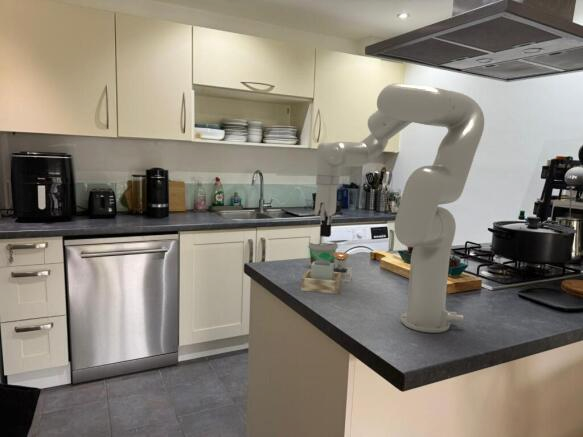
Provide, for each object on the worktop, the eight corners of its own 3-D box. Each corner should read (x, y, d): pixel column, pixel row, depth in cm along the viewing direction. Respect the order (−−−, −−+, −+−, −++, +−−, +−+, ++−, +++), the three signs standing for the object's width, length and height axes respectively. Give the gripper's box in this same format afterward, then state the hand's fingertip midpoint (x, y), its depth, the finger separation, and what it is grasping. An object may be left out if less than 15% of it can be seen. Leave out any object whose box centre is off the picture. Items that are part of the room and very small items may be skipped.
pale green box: (312, 281, 142) (313, 259, 141) (333, 283, 141) (334, 260, 140) (310, 285, 138) (311, 262, 136) (331, 287, 136) (332, 264, 135)
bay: (340, 283, 144) (341, 272, 143) (337, 293, 133) (338, 281, 133) (306, 280, 146) (307, 269, 146) (301, 290, 136) (301, 278, 135)
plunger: (348, 270, 152) (349, 252, 151) (347, 274, 147) (348, 256, 146) (333, 268, 153) (333, 251, 152) (331, 273, 148) (332, 255, 147)
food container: (313, 271, 158) (314, 245, 157) (307, 267, 164) (308, 242, 162) (342, 269, 163) (343, 244, 161) (335, 265, 168) (336, 241, 167)
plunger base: (351, 276, 153) (352, 268, 153) (350, 282, 146) (350, 274, 145) (330, 274, 155) (330, 266, 155) (327, 280, 147) (327, 272, 147)
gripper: (323, 179, 143) (320, 231, 146) (309, 181, 130) (307, 239, 132) (344, 180, 141) (341, 233, 144) (333, 182, 127) (330, 241, 130)
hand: (325, 236), depth 138 cm, fingers closed
